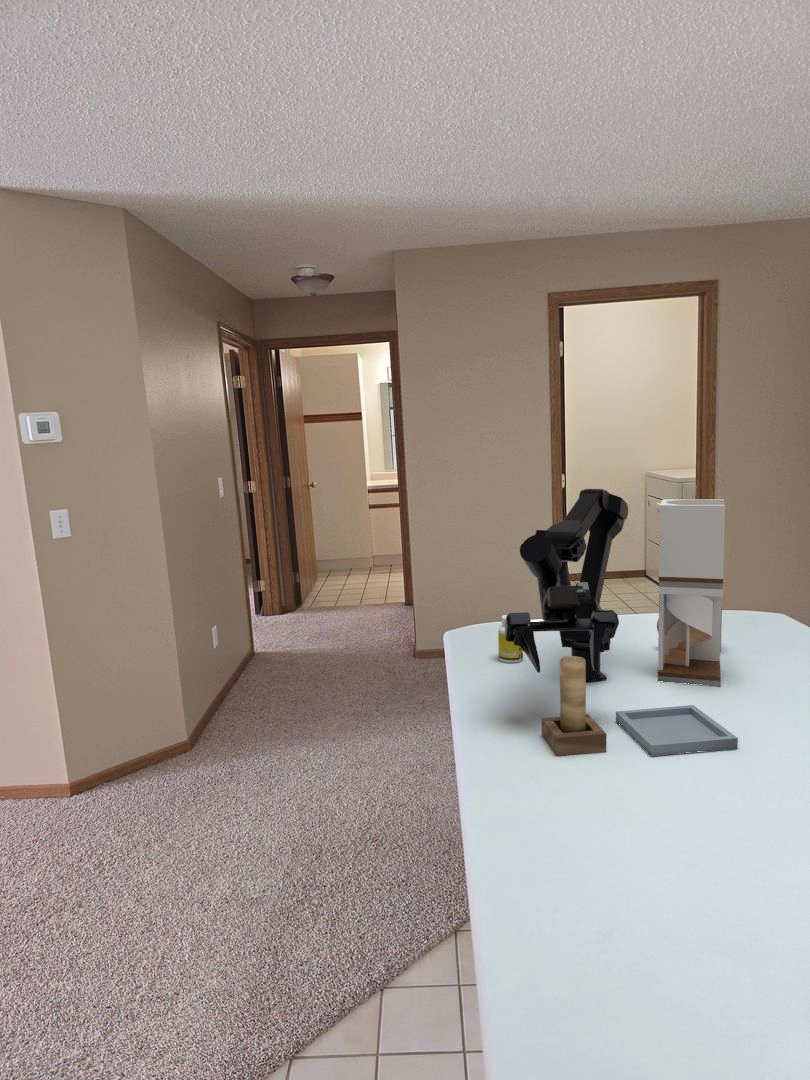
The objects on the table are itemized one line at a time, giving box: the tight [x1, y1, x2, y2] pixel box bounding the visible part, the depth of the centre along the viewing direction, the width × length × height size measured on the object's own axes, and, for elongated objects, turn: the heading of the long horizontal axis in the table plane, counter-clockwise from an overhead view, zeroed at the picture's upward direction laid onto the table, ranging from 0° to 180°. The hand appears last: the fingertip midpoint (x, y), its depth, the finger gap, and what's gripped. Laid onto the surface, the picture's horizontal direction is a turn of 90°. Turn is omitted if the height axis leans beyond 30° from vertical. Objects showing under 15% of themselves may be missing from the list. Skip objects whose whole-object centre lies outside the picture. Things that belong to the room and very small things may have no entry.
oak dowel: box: [559, 655, 587, 733], centre depth 118 cm, size 4×4×14 cm
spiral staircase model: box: [657, 498, 726, 688], centre depth 145 cm, size 11×11×35 cm
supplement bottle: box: [497, 614, 524, 664], centre depth 162 cm, size 5×5×10 cm
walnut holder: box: [541, 713, 607, 757], centre depth 119 cm, size 8×8×3 cm
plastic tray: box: [615, 704, 739, 757], centre depth 121 cm, size 14×14×2 cm
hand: (566, 670), depth 121 cm, fingers open, 9 cm apart
